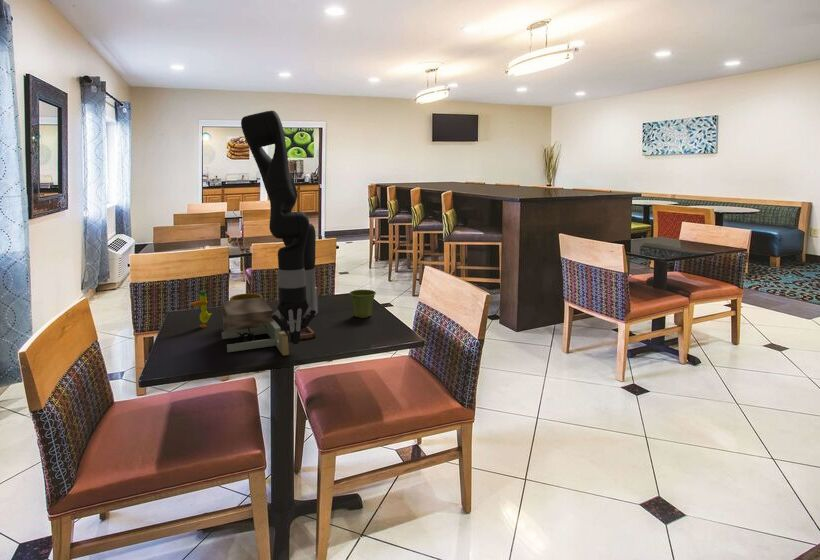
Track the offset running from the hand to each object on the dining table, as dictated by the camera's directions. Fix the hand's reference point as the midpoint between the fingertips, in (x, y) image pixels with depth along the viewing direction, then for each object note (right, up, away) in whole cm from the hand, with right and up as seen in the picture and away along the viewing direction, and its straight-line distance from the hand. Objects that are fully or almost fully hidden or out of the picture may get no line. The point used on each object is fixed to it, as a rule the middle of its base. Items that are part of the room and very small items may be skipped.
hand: (294, 343), depth 142 cm
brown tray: (-1, +1, +15) cm, 15 cm away
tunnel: (-16, -1, +8) cm, 18 cm away
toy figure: (-36, +2, +24) cm, 43 cm away
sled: (-13, -1, +4) cm, 14 cm away
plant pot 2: (+16, +5, +38) cm, 41 cm away
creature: (-17, -2, +5) cm, 18 cm away
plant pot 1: (-22, +3, +26) cm, 34 cm away
